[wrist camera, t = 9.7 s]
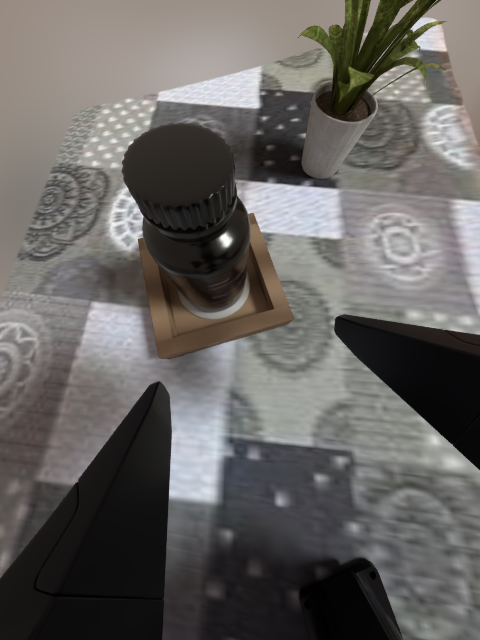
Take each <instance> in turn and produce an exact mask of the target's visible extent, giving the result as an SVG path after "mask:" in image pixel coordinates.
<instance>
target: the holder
mask: <svg viewBox="0 0 480 640" xmlns="http://www.w3.org/2000/svg"><path fill="white" fill-rule="evenodd" d="M248 215H249V219H250V225H251V236H250V246H249V255H248V264H247V273H246V282H245V288H244V291H243V294H242V296H241V297H240V299H239V300H238V301H237V302H236V303H235V304H234V305H233V306H232V307H230V308H228V309H226V310H223V311H220V312H206V311H202V310H200V309H198V308H196V307H194V306H193V305H192V304H190V303H189V301H188V300H187V299H186V298H185V297H184V296H183V295H182V293H181V292H180V291H179V290H178V289H177V287H176V286H175V285H174V284H173V282H172V281H171V280H170V279H169V278H168V276H167V275H166V274H165V273H164V272H163V270H162V269H161V268H160V267H159V265H158V264H157V263H156V262H155V260H154V259H153V258H152V256H151V255H150V253H149V252H148V250H147V248H146V245H145V242H144V238H140V239H138V243H139V249H140V255H141V260H142V266H143V272H144V277H145V283H146V289H147V294H148V300H149V306H150V311H151V317H152V322H153V328H154V334H155V339H156V345H157V351H158V356H159V358H160V359H171V358H174V357H178V356H181V355H185V354H188V353H192V352H195V351H198V350H202V349H205V348H209V347H212V346H216V345H219V344H222V343H226V342H229V341H233V340H236V339H239V338H243V337H246V336H250V335H253V334H257V333H260V332H263V331H267V330H270V329H274V328H277V327H281V326H284V325H287V324H288V323H290V322H291V321H292V320H294V317H293V315H292V312H291V309H290V307H289V304H288V302H287V299H286V296H285V294H284V291H283V289H282V286H281V283H280V281H279V278H278V276H277V273H276V270H275V268H274V265H273V263H272V260H271V257H270V255H269V252H268V250H267V247H266V244H265V242H264V239H263V237H262V234H261V231H260V229H259V226H258V224H257V221H256V218H255V216H254V213H250V214H248Z"/></svg>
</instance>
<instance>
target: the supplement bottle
mask: <svg viewBox="0 0 480 640" xmlns="http://www.w3.org/2000/svg"><path fill="white" fill-rule="evenodd" d="M122 164H123V168H122V173H123V175H124V178H123V179H124V182H125V184H126V186H127V187H128V189H129V191H130V193H131V195H132V196H133V198H134V199H135V201H136V203H137V204H138V206H139V209H140V211H141V213H142V215H143V216H144V217H143V226H142V230H143V238H144V242H145V245H146V248H147V250H148V252H149V253H150V255H151V256H152V258H153V259H154V260H155V262H156V263H157V264H158V265H159V267H160V268H161V269H162V270H163V272H164V273H165V274H166V275H167V276H168V278H169V279H170V280H171V281H172V282H173V284H174V285H175V286H176V287H177V289H178V290H179V291H180V292H181V293H182V295H183V296H184V297H185V298H186V299H187V300H188V301H189V303H190V304H192V305H193V306H194V307H196V308H198V309H200V310H202V311H206V312H220V311H223V310H226V309H228V308H230V307H232V306H233V305H234V304H235V303H236V302H237V301H238V300H239V299H240V297H241V296H242V294H243V291H244V288H245V282H246V273H247V264H248V255H249V246H250V236H251V225H250V219H249V215H248V213H247V210H246V208H245V206H244V205H243V203H242V201H241V200H240V199H239V198H238V196H237V189H236V184H235V165H234V160H233V154H232V152H231V151H230V147H229V145H228V144H226V143H225V140H224V139H223V138H221V137H219V135H218V134H217V133H215V132H212V131H211V130H210V129H208V128H204V127H202V126H201V125H194V124H191V123H189V124H185V123H177V124H173V123H170V124H167V125H160V126H159V127H157V128H153V129H150V130H149V131H148V132H145V133H143V134H142V135H141V136H140V137H138V138H137V139H135V140H134V142H133V143H132V144H131V145H130V146H129V147H128V150H127V152H126V153H125V154H124V160H123V161H122Z"/></svg>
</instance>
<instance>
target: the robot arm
mask: <svg viewBox="0 0 480 640" xmlns="http://www.w3.org/2000/svg"><path fill="white" fill-rule="evenodd" d="M334 331H335V333H336V335H337V336H338V337H339V338H340V339H341V340H342V342H343V343H344V344H345V345H346V346H347V347H348V348H349V349H350V350H351V352H352V353H353V354H354V355H355V356H356V357H357V358H358V359H359V360H360V361H361V362H363V363H364V364H365V365H366V366H367V367H368V368H369V369H370V370H371V371H372V372H373V373H375V374H376V375H377V376H378V377H379V378H380V379H381V380H382V381H383V382H384V383H385V384H387V385H388V386H389V387H390V388H391V389H392V390H393V391H394V392H395V393H396V394H397V395H399V396H400V397H401V398H402V399H403V400H404V401H405V402H406V403H407V404H408V405H409V406H411V407H412V408H413V409H414V410H415V411H416V412H417V413H418V414H419V415H420V416H421V417H423V418H424V419H425V420H426V421H427V422H428V423H429V424H430V425H431V426H432V427H433V428H435V429H436V430H437V431H438V432H439V433H440V434H441V435H442V436H443V437H444V438H445V439H447V440H448V441H449V442H450V443H451V444H453V446H454V447H455V448H456V449H457V450H458V451H459V452H460V453H462V454H463V455H464V456H465V457H466V458H467V459H468V460H469V461H470V462H471V463H472V464H474V465H475V466H476V467H477V468H478V469H479V470H480V335H477V334H470V333H463V332H456V331H449V330H442V329H436V328H430V327H423V326H417V325H410V324H404V323H397V322H391V321H384V320H378V319H371V318H365V317H358V316H352V315H345V314H344V315H340V316H338V317H336V319H335V327H334ZM171 439H172V426H171V410H170V396H169V393H168V391H167V390H166V388H165V387H164V385H163V384H162V383H161V382H160V381H158V382H155V383H153V384H151V385H149V387H148V388H147V389H146V391H145V392H144V393H143V395H142V396H141V397H140V399H139V400H138V401H137V403H136V404H135V405H134V407H133V408H132V409H131V411H130V412H129V413H128V415H127V416H126V417H125V418H124V420H123V421H122V422H121V424H120V425H119V426H118V428H117V429H116V430H115V432H114V433H113V434H112V436H111V437H110V438H109V440H108V441H107V442H106V444H105V445H104V446H103V448H102V449H101V450H100V452H99V453H98V454H97V456H96V457H95V458H94V460H93V461H92V462H91V464H90V465H89V466H88V468H87V469H86V470H85V472H84V473H83V474H82V476H81V477H80V478H79V480H78V482H77V483H75V485H74V486H73V487H72V489H71V490H70V491H69V493H68V494H67V495H66V497H65V498H64V499H63V501H62V502H61V503H60V504H59V506H58V507H57V508H56V510H55V511H54V512H53V514H52V515H51V516H50V517H49V519H48V520H47V521H46V523H45V524H44V525H43V526H42V528H41V529H40V530H39V531H38V533H37V534H36V535H35V536H34V538H33V539H32V540H31V541H30V543H29V544H28V545H27V546H26V547H25V549H24V550H23V551H22V552H21V554H20V555H19V556H18V557H17V559H16V560H15V561H14V562H13V563H12V565H11V566H10V567H9V568H8V570H7V571H6V572H5V573H4V574H3V576H2V577H1V578H0V640H162V631H163V610H164V600H163V598H164V585H165V564H166V543H167V522H168V501H169V480H170V459H171ZM371 571H372V572H371ZM370 572H371V573H370ZM299 600H300V604H301V608H302V612H303V615H304V619H305V622H306V626H307V630H308V633H309V637H310V640H403V638H402V635H401V632H400V629H399V627H398V624H397V621H396V619H395V616H394V613H393V611H392V608H391V605H390V602H389V600H388V597H387V594H386V592H385V589H384V586H383V584H382V581H381V578H380V575H379V573H378V571H377V569H376V568H375V566H374V565H373V563H371V562H370V561H366V562H363V563H361V564H359V565H357V566H354V567H352V568H350V569H347V570H345V571H343V572H341V573H338V574H336V575H334V576H332V577H329V578H327V579H325V580H322V581H320V582H318V583H316V584H313V585H311V586H309V587H306V588H304V589H302V590H301V591H300V593H299ZM306 600H308V601H307V602H305V601H306Z"/></svg>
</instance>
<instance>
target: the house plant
mask: <svg viewBox="0 0 480 640" xmlns="http://www.w3.org/2000/svg"><path fill="white" fill-rule="evenodd" d="M370 1H371V0H345V24H344V26H343V30H342V28H341V27H340V26H339V25H332V26H330V27H329V37H330V38H329V37H328V35H327V34H326V32H325V31H324V30H323V29H322V28H321V27H320V26H311V27H308V28H307V29H306V30H305V31H303V32H302V33H301V35H303V36H306V37H308V38H311V39H313V40H315V41H317V42H318V43H320V44H321V45H322V46H323V47H324V48H325V49H326V50H327V51H328V52H329V53H330V55H331V57H332V60H333V64H334V71H333V82H328V83H325V84H323V85H321V86H320V87H319V88H318V89H317V90H316V91H315V93H314V95H313V100H312V106H311V111H310V117H309V122H308V128H307V133H306V139H305V144H304V150H303V155H302V161H301V163H302V168H303V170H304V172H305V173H306V174H307V175H309V176H311V177H314V178H317V179H326V178H329V177H331V176H333V175H334V173H335V172H336V171H337V169H338V168H339V166H340V165H341V164H342V162H343V161H344V159H345V158H346V156H347V155H348V153H349V152H350V151H351V149H352V148H353V146H354V145H355V143H356V142H357V140H358V139H359V138H360V136H361V135H362V133H363V132H364V130H365V129H366V127H367V126H368V124H369V123H370V122H371V120H372V119H373V117H374V116H375V114H376V112H377V109H378V104H377V100H376V98H375V96H374V94H375V93H374V94H372V93H371V92H370V91H369V90H367V89H368V88H369V87H370V86H371V84H372V83H373V82H374V81H375V80H376V79H377V78H378V77H379V76H380V75H382V74H383V73H385V72H387V71H388V70H390V69H392V68H393V67H396V66H400V65H403V64H405V65H410V66H413V67H415V68H414V69H412V70H410V71H409V72H407V73H405V74H404V75H406V74H408V73H410V72H412V71H414V70H416V69H419V70H420V71H421V72H422V73H423V76H424V79H425V85H426V69H425V67H427V66H431V67H435V68H438V69H444V68H442V67H441V66H439V65H438V64H434V63H427V64H423V63H422V61H421V60H419V59H417V58H409V57H405V58H402V59H399V58H401V57H402V56H404V55H406V54H408V53H410V52H412V51H414V50H415V49H417V48H419V53H420V47H419V46H418V45H417V44H416V42H415V40H416V39H417V38H418V37H420V36H421V35H422V34H423V33H424V32H426V31H427V30H428V29H430V28H431V27H433V26H436V25H439V24H442V23H444V22H445V21H441V22H431V23H428V24H426V25H424V26H422V27H420V28H419V29H417V30H416V31H415V32H413V31H412V30H410V29H411V27H412V26H413V25H414V24H415V23H416V22H417V21H418V20H419V19H420V18H421V17H422V16H423V15H424V14H425V13H426V12H427V11H428V10H429V9H430V8H431V7H433V6H434V5H435V4H437V3H438V2H439V1H441V0H438V1H437V2H436V3H434V2H435V1H436V0H417V1H416V3H415V4H414V5H413V6H412V8H411V9H410V10H409V11H408V12H407V13H406V15H405V16H404V17H403V18H402V19H401V20H400V21H399V23H398V24H396V25H394V26H392V27H391V28H390V29H389V27H390V26H391V24H392V22H393V20H394V19H395V17H396V15H397V13H398V12H399V10H400V8H402V7H403V6H405V5H406V4H408V3H409V2H411V1H412V0H380V3H379V6H378V9H377V12H376V16H375V19H374V22H373V25H372V27H371V29H370V31H369V33H368V35H367V37H366V39H365V41H364V43H363V46H362V48H361V50H360V53H359V48H360V44H361V40H362V36H363V32H364V28H365V24H366V20H367V16H368V11H369V6H370ZM351 3H352V5H351ZM433 3H434V4H433ZM432 4H433V5H432ZM431 5H432V6H431ZM430 6H431V7H430ZM429 7H430V8H429ZM428 8H429V9H428ZM409 21H410V22H409ZM408 22H409V23H408ZM405 26H406V27H405ZM404 27H405V28H404ZM388 29H389V30H388ZM398 34H399V35H398ZM406 34H407V35H408V37H407V38H405V39H403V37H404V36H405V35H406ZM301 35H300V36H301ZM397 35H398V36H397ZM396 36H397V38H396ZM298 38H299V37H298ZM395 38H396V39H395ZM394 39H395V40H394ZM402 39H403V40H402ZM393 40H394V41H393ZM392 41H393V43H392ZM391 43H392V44H391ZM390 44H391V45H390ZM389 45H390V46H389ZM388 46H389V48H388V49H387V47H388ZM386 49H387V50H386ZM385 50H386V52H385V53H384V54H383V52H384V51H385ZM358 53H359V55H358ZM382 54H383V56H382V57H381V58H380V59H379V57H380V56H381V55H382ZM378 59H379V61H378V62H377V63H376V61H377V60H378ZM398 59H399V60H398ZM375 63H376V64H375ZM374 64H375V66H374V67H373V65H374ZM372 67H373V68H372ZM371 68H372V70H371ZM370 70H371V71H370ZM444 70H445V69H444ZM369 71H370V72H369ZM404 75H402V76H404ZM402 76H400V77H399V78H401V77H402ZM399 78H397V79H399ZM397 79H396V80H397ZM396 80H394V81H396ZM394 81H392V82H391V83H393V82H394ZM391 83H389V84H391ZM389 84H388V85H389ZM388 85H386V86H388ZM386 86H385V87H386ZM385 87H383V88H385ZM383 88H382V89H383ZM380 90H381V89H380ZM380 90H379V91H380ZM377 92H378V91H377ZM377 92H376V93H377Z"/></svg>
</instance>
